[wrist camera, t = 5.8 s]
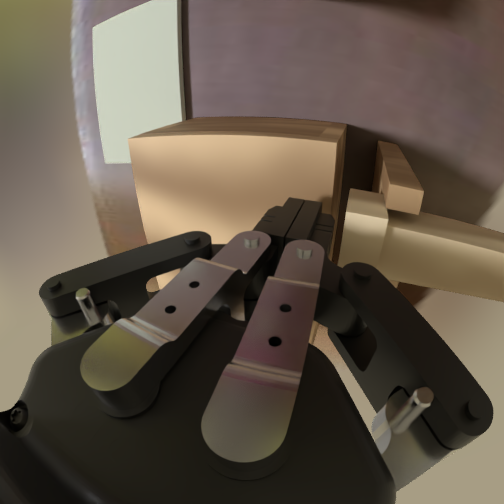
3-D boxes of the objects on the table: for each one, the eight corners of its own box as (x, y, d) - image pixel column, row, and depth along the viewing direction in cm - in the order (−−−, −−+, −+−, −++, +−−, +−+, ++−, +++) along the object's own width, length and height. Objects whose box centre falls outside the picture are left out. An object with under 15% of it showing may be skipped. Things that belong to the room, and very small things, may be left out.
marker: (350, 188, 12) (346, 211, 10) (554, 242, 8) (575, 270, 6) (341, 249, 14) (334, 280, 11) (532, 289, 10) (547, 320, 8)
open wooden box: (195, 117, 21) (104, 147, 13) (398, 132, 16) (428, 170, 8) (213, 287, 31) (164, 354, 23) (357, 321, 26) (340, 409, 18)
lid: (138, 134, 16) (47, 173, 10) (338, 139, 12) (313, 186, 7) (181, 332, 26) (140, 387, 20) (305, 369, 22) (279, 442, 16)
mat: (96, 27, 18) (92, 27, 18) (181, -7, 15) (177, -9, 14) (109, 161, 27) (105, 163, 27) (189, 162, 24) (186, 163, 23)
